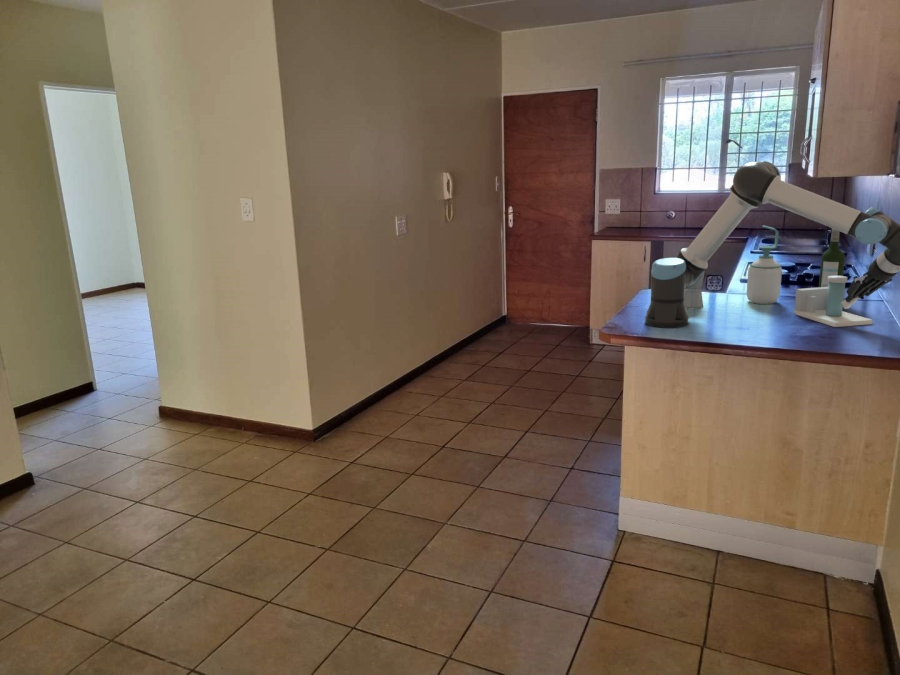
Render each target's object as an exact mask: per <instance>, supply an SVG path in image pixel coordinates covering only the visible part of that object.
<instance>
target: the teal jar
mask: <svg viewBox="0 0 900 675" xmlns="http://www.w3.org/2000/svg"><path fill="white" fill-rule="evenodd" d="M827 281H828V282H829V287H828V297H827V306H826V315H830V316H841V315H842V311H843V309H844V307H843V305H842V303H841V302H842V301H843V300H844V298H845V297H844V296H845V291H846V290H845V288H846V283H848V276H844V275H843V276H828V280H827Z"/></svg>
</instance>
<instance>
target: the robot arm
mask: <svg viewBox="0 0 900 675" xmlns="http://www.w3.org/2000/svg"><path fill="white" fill-rule="evenodd" d="M781 176H782V175H781V172H780V169H779V168H778V167H777V165H775V164H774V163H772V162H769V161H765V160H759V161H751V162H748V163H745V164H742V165H741V166H740V167H739V168H738V169H737V170H736V172H735V173H734V175H733V178H732V185H731V186H730V187H729V192H730V194H729V196H728V197H727V198H726V199H725V201H724V202H723V203H722V205H721V206H720V207H719V208H718V210H717V211H716V212H715V213H714V214H713V216H712V217H711V218H710V220H709V221H708V223H706V224H705V226H704V227H703V228H702V230H700V232H699V233H698V234H697V236H696V237H695V238H694V239H693V241H691V243H690V245H689V246H687V247H684V248H683V247H682V248H681V249H680V250H679V251H678V253H677V254H676V255H675V257H663V258H660V259H657V260H655V261H654V262H652V264H651V270H650V274H651V275H650V278H651V280H650V303H649V306H648V309H647V311H646V314H645V319H644V323H645V324H646V325H648V326H651V327H655V328H667V329H669V328H671V329H672V328H681V327H682V328H683V327H686V326H687V325H688V324H689V315H688V312H687V308H685V305H684V290H685V289H686V288H689V287H692V286H693V285H695V284H696V283H697V282H698V281H699V280H700V279H701V277H702V274H703V272H704V271H705V272H706V270H707V269H708V268H709V267H708V266H709V264H708V261H709V260H710V258H711V257H712V256H713V255H714V253H716V251H718V249H719V248H720V246H721V245H722V244H723V243H724V242H725V241H726V240H727V238H728V237H729V236H730V235H731V233H732V232H734V230H735V229H736V227H737V226H738V225H739V224H740V223H741V221H742V220H743V219H744V218H745V217H746V215H747V214H748V213H749V212H750V211H751V210H753V209H758V208H759V207H760V206H761V205H762V204H763V205H766V204H771V205H773V206H777V207H779V208H781V209H784V210H786V211H789V212H791V213H794V214H796V215H798V216H802V217H804V218H806V219H809V220H810V221H814V222H816V223H818V224H821V225H824V226H826V227H829V228H831V229H832V228H833V229H835V230H838V231H840V232H841V233H843V234H845V235H848V236H849V237H852V238H854V239H857V241H859V242H860V243H862V244H863V245H874V244H881V246H883V247H885V249H884V250H883V251H882V252H881V253H880V254H879V255H878V256H877V257H876V258H875V259H874V260H873V261H872V262H871V263H870V264H869V266H868V270H867V271H866V272H865V273H863V274H862V276H857V275H856V276H853V280H852V282H851V283H850V284H849V286H848V288H847V289H846V290H845V291H846V293H847V296H846V297H844V298H845V299H843V301H842V302H841V303H842V305H843V309H844V310H849V309H850V308H851V307H852V306H853V305H854V304H855V303H857V301H858V300H859V299H860V300H864V299H865V296H866V297H869V296H870V295H872V294H873V293H875V292H876V291H878V290H879V289H880V288H882V287H883V286H885V285H886V284H888V283H890V282H892V281H893V278H894V277H895V276H896V275H897V273H898V272H900V223H898V222H897V221H895V220H894V219H892V218H891V217H889V216H888V215H887V214H885V213H884V212H883V211H881V210H879V209H878V208H875V207H873V206H871V207H869V208H868V209H867V210H865V212H863V211H860V210H858V209H856V208H852V207H851V206H848V205H845V204H843V203H840V202H838V201H835V200H833V199H831V198H827V197H824V196H822V195H820V194H818V193H815V192H812V191H809V190H807V189H804V188H802V187H799V186H797V185H795V184H792V183H789V182H787V181H784V180H782V178H781ZM840 232H839V233H840Z"/></svg>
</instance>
